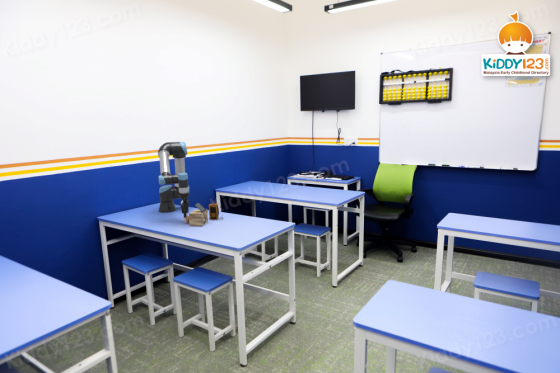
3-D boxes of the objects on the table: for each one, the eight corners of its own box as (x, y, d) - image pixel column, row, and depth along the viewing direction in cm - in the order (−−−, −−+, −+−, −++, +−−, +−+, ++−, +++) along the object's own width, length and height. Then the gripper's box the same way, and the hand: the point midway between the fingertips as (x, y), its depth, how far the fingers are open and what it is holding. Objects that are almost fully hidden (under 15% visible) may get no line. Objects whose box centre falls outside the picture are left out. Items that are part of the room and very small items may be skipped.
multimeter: (225, 216, 303) (224, 193, 299) (222, 219, 293) (220, 196, 289) (208, 216, 304) (207, 193, 301) (205, 219, 294) (203, 196, 291)
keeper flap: (197, 203, 283) (198, 202, 283) (204, 210, 284) (205, 209, 283) (194, 205, 278) (195, 204, 277) (202, 212, 278) (202, 211, 278)
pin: (186, 224, 282) (186, 217, 281) (189, 222, 287) (188, 215, 286) (203, 224, 280) (203, 217, 279) (206, 222, 285) (205, 215, 284)
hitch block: (196, 221, 291) (195, 207, 289) (208, 221, 289) (207, 207, 287) (189, 226, 277) (188, 211, 275) (202, 226, 276) (201, 212, 273)
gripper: (182, 190, 287) (184, 218, 291) (175, 194, 274) (178, 223, 278) (191, 190, 286) (193, 219, 290) (185, 194, 273) (187, 223, 277)
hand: (185, 221), depth 284 cm, fingers closed
